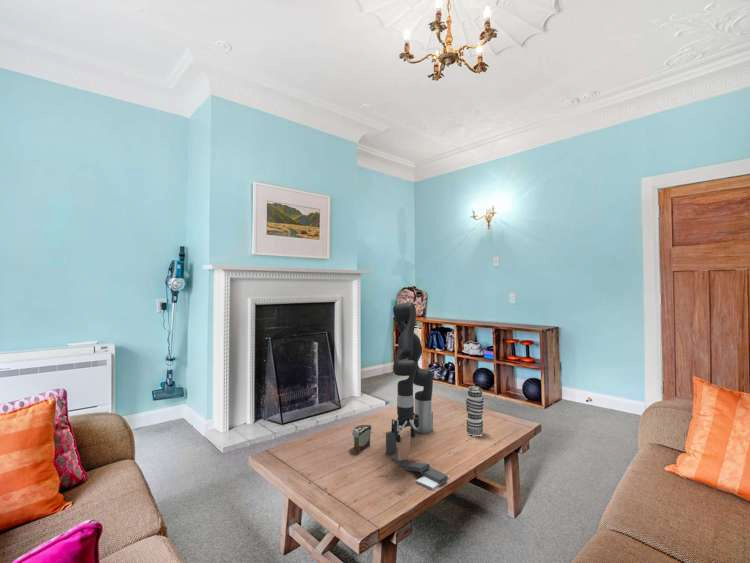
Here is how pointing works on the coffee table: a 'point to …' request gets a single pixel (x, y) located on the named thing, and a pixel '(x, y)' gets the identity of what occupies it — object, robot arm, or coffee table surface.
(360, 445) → the food container
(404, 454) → the domino
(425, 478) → the external hard drive
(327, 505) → the coffee table surface
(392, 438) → the domino
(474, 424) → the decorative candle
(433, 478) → the domino
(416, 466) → the domino
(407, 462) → the domino
